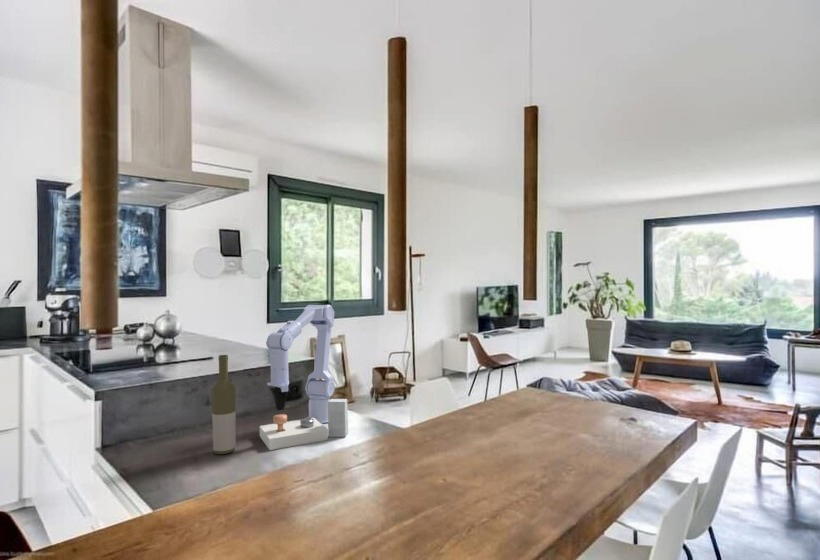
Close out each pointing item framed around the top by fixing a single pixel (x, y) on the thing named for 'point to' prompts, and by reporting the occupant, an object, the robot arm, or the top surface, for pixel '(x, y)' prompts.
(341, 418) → the skincare box
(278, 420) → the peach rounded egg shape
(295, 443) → the panel
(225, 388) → the bottle
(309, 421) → the plug
